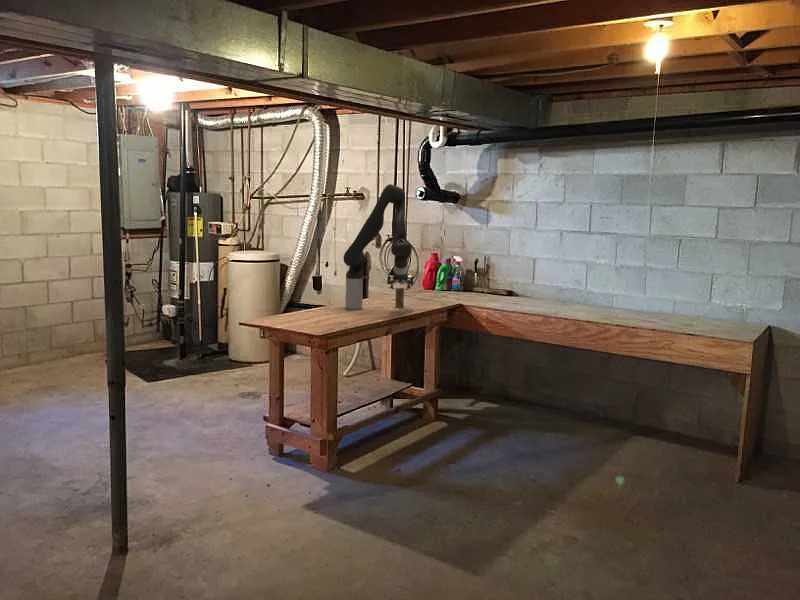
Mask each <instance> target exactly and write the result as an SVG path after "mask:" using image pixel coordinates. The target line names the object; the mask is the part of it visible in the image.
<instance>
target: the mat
mask: <svg viewBox="0 0 800 600" xmlns="http://www.w3.org/2000/svg"><path fill="white" fill-rule="evenodd" d="M398 311H401V312H403V311H404V312H405V311H406V312H407V311H408V312H411V311H412V312H414V308H411V307H409V308H407V307H404V308H398Z"/></svg>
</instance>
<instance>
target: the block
mask: <svg viewBox="0 0 800 600" xmlns="http://www.w3.org/2000/svg"><path fill="white" fill-rule="evenodd" d="M404 294H405V289H404V287H395V307H394V308H395V309H399V308H405V307H404V305H405V304H404V303H405V301H404V300H405V299H404V298H405V295H404Z"/></svg>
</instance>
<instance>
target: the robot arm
mask: <svg viewBox="0 0 800 600" xmlns="http://www.w3.org/2000/svg"><path fill="white" fill-rule="evenodd" d="M389 204H393V205H394V207H395V208H394V209H395V213H394V215H393V218H392V222H391V230H392V232H391V233H392V242H391V249H390V252H391V254H392V255H393V256H394V259H393V260H394V263H393V274H392V275H391V274H390V273H389V274H387V280H386V281H387V282H386V283H387V285H390V288H391V290H393V289H394V284H395V285H396V283H404V284H405V285H406V289H407V290H409V289H410V288H411V285H414V274H413V273H412V274H410V275H408V272H409V271H408V270H409V264H408V261H409V258H410V256H411V254H412V249H413V246H412V244H411V243H410V242H409V241H402V240H404V239H406V237H407V229H406V222H405V213H406V212H405V210H406V209H405V208H406V192H405V190H404V189H403V188H402V187H400V186H397V185H394V184H391V183H390V184H388V185H386V186H385V187H384V188H383V190H382V191H381V193H380V196H379V198H378V200H377V201H376V203H375V206H374V207H373V209H372V210H371V213H370V214H369V216H368V217H367V219H366V221H364V224H363V225H362V227H361V228H360V231H359V232H358V234H357V236H356V237H355V239H354V241H353V242H352V243H351V245H349V247H348V248H347V249H346V251H345V252H344V255H343V262H344V264H345V265H346V266H348V267H349V269H348V271H346V274H345V310H354V311H356V310H357V311H358V310H363V290H364V289H363V286H364V285H363V284H364V283H363V278H364V277H363V275H364V272H365V254H364V252H363V251H364V249H365V248H367V246H368V245H369V244H370V243H371V242H373V241H374V240H375V239H376V237H377V236H378V235H379V233H380V231H381V230H382V229H383V226H384V222H385V221H384V219H385V217H384V216H385V211H386V209H387V207H388V205H389Z"/></svg>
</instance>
